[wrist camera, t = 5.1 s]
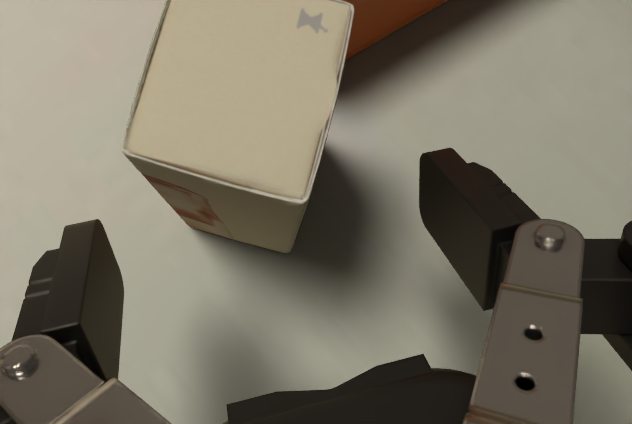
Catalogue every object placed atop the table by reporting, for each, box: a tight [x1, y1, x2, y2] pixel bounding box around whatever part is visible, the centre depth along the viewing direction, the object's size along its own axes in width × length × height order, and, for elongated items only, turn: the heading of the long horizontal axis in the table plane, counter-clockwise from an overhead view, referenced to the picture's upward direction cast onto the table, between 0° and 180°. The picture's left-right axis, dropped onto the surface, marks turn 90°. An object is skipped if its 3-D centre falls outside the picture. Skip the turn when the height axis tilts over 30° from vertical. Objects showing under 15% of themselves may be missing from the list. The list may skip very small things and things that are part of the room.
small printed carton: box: [121, 0, 355, 253], centre depth 17 cm, size 5×4×10 cm
